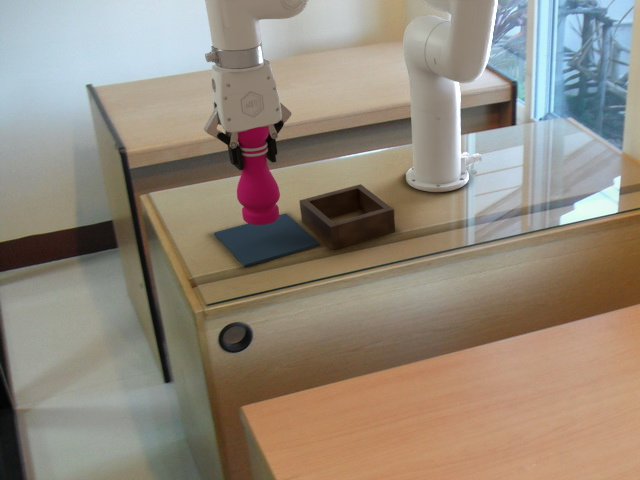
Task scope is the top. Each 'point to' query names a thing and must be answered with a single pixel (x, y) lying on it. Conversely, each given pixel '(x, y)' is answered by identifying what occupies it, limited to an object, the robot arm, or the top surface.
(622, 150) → the top surface
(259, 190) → the pepper mill
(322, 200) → the stand
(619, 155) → the top surface
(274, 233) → the mat
